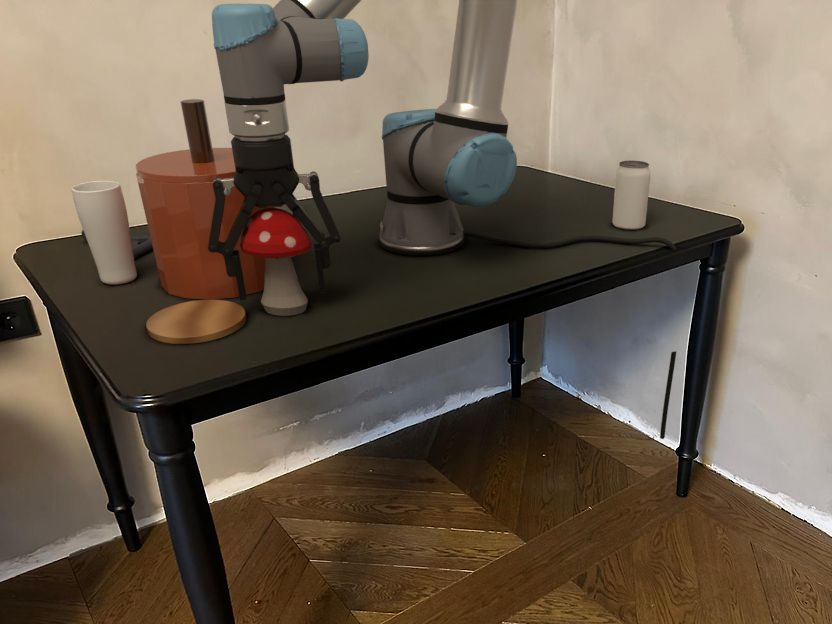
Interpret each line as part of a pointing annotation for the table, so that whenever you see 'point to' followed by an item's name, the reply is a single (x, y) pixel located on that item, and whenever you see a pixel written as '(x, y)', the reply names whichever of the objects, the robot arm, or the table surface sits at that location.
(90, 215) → the drinking glass
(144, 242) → the bracket
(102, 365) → the table surface
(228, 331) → the round golden metal disc
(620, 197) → the can
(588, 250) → the table surface
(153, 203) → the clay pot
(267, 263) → the decorative mushroom
